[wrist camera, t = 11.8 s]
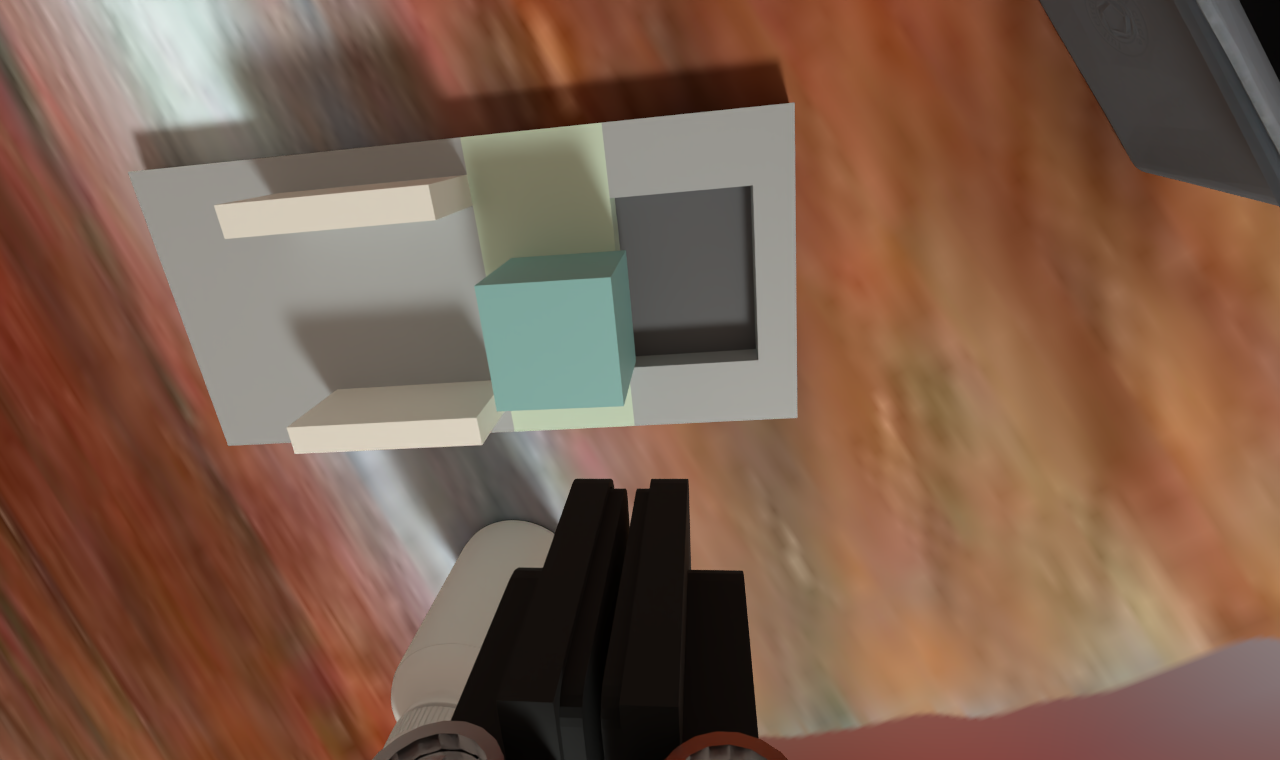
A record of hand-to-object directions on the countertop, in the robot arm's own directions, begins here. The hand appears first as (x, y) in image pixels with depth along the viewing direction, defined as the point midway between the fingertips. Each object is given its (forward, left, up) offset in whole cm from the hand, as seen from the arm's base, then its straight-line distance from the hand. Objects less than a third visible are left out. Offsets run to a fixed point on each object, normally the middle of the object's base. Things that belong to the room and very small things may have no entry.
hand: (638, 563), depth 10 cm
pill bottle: (+21, -12, -27) cm, 37 cm away
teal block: (+3, -6, -25) cm, 26 cm away
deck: (+2, -11, -27) cm, 29 cm away
